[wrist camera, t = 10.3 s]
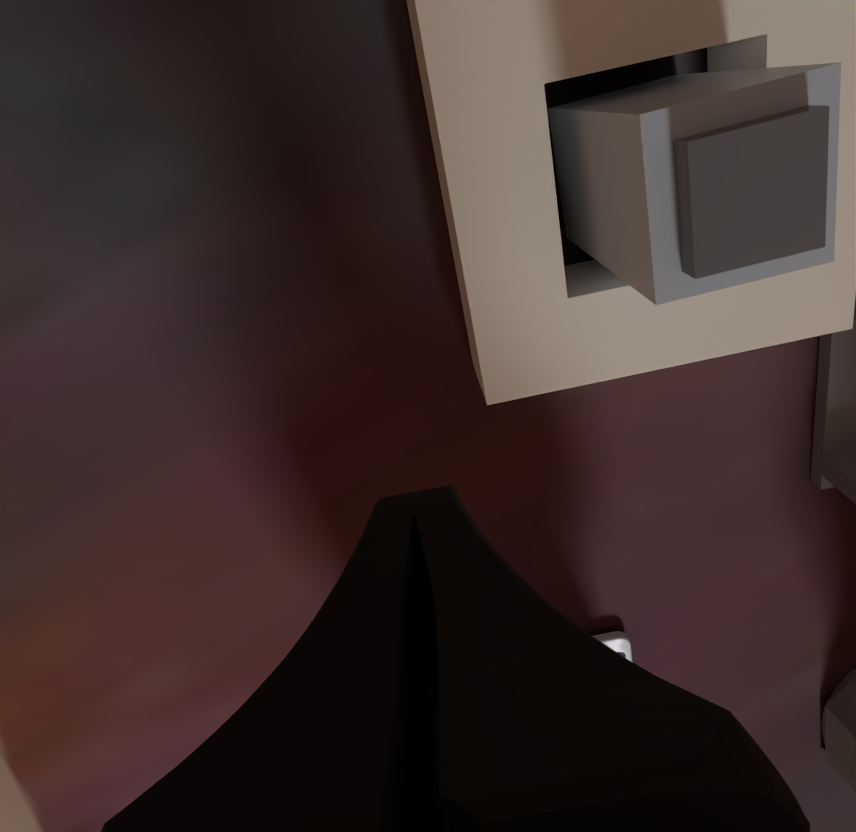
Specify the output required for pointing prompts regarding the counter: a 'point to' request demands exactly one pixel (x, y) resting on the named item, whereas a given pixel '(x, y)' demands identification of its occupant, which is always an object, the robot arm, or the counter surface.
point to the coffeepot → (842, 728)
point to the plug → (703, 177)
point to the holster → (836, 413)
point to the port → (536, 194)
